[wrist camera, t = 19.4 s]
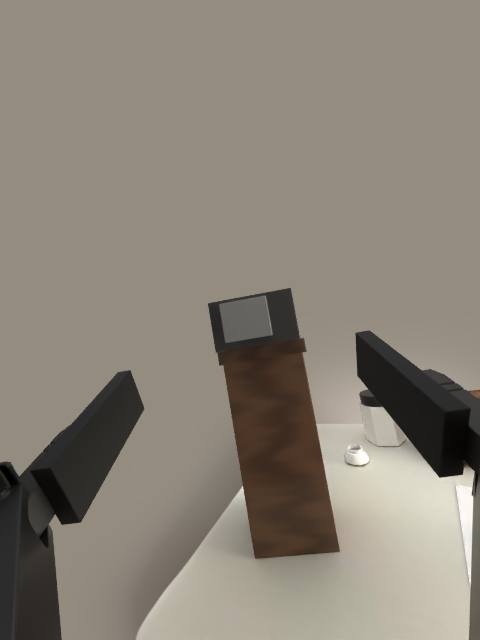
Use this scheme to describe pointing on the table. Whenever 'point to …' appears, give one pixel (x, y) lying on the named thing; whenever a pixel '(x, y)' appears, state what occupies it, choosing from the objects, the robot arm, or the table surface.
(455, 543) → the table surface
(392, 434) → the jar
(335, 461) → the table surface
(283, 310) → the sledgehammer head
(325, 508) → the stand
